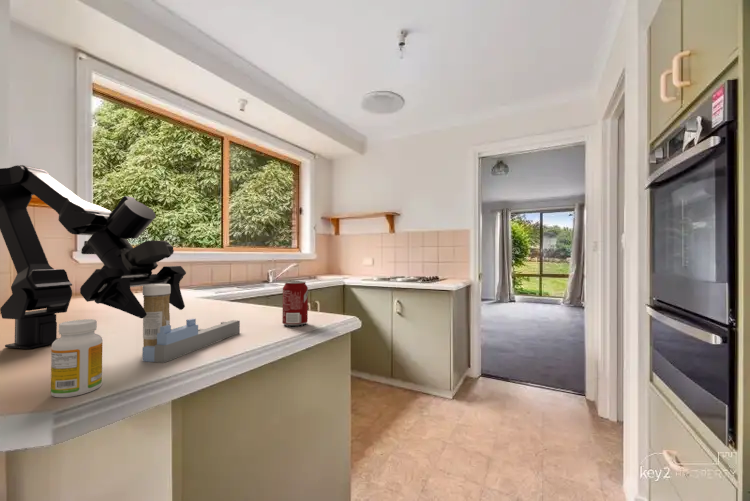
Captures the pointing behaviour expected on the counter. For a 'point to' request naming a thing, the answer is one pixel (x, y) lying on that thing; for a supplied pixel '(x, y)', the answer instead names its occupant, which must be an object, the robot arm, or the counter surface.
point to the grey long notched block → (186, 339)
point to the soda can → (295, 303)
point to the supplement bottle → (76, 359)
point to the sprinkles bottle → (155, 311)
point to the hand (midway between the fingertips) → (165, 312)
